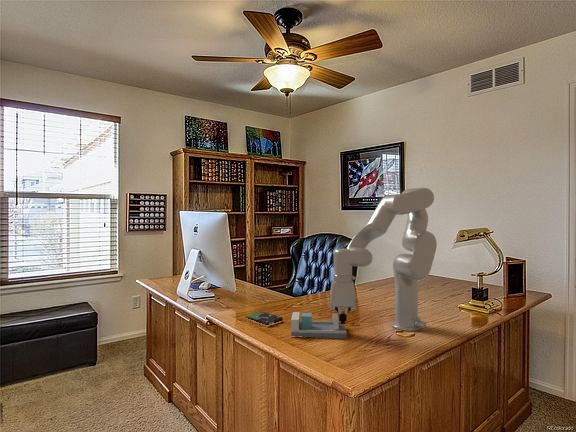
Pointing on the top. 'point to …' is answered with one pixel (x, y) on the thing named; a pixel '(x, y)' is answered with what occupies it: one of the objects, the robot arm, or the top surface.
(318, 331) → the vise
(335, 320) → the block
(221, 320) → the top surface
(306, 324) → the teal block
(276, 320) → the disk drive
